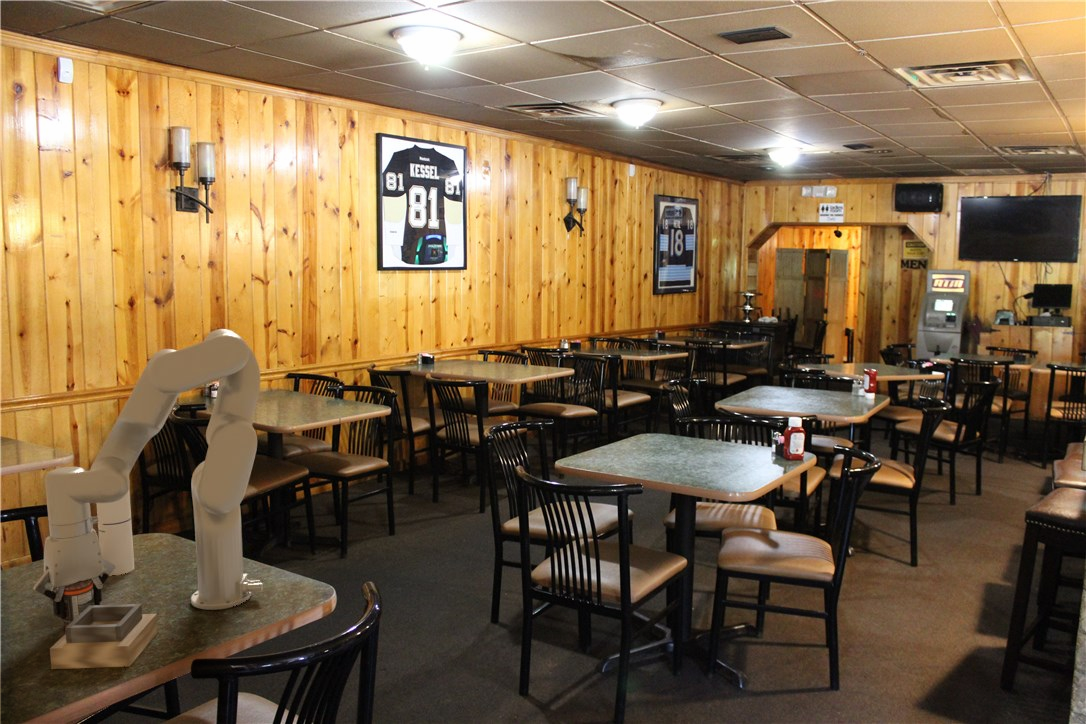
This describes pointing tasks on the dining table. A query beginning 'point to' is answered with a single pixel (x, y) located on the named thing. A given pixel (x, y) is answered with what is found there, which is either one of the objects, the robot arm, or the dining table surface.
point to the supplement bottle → (77, 599)
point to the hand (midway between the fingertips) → (78, 611)
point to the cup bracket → (104, 637)
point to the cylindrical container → (116, 534)
